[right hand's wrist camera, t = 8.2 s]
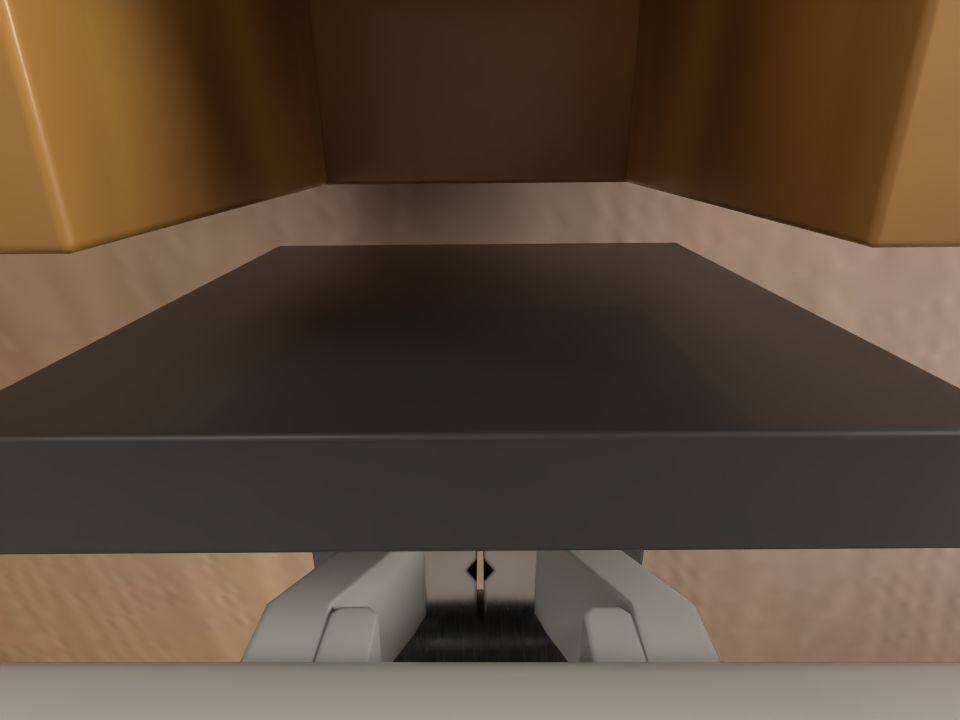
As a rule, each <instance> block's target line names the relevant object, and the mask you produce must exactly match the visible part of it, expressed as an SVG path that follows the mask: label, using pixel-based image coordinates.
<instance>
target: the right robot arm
mask: <svg viewBox="0 0 960 720" xmlns="http://www.w3.org/2000/svg"><path fill="white" fill-rule="evenodd" d="M483 555H484V610H527V611H534V613H535V615H536V616H537V618H538V619H539V621H540V623H541V624H542V626H543V628H544V630H545V632H546V633H547V635H548V636H549V637H550V639H551V640H552V641H553V642H554V644H555V645H556V646H557V648H558V649H559V650H560V652H561V653H562V654H563V655H564V657H565V658H566V659H567V661H568V662H393V661H394V659H395V658H396V657H397V655H398V654H399V653H400V652H401V650H402V649H403V648H404V646H405V645H406V644H407V643H408V641H409V640H410V639H411V637H412V636H413V635H414V633H415V632H416V631H417V629H418V627H419V626H420V624H421V622H422V621H423V619H424V617H425V616H426V611H458V610H476V604H477V551H408V552H336V553H335V554H334V555H332V556H331V557H330V558H328V559H327V560H326V561H324V562H323V563H322V564H320V565H319V566H318V567H316V568H315V569H314V570H312V571H311V572H310V573H308V574H307V575H306V576H304V577H303V578H302V579H300V580H299V581H298V582H296V583H295V584H294V585H292V586H291V587H290V588H288V589H287V590H286V591H284V592H283V593H282V594H280V595H279V596H278V597H276V598H275V599H274V600H272V601H271V602H270V603H268V604H267V606H266V608H265V610H264V612H263V614H262V616H261V618H260V621H259V623H258V625H257V627H256V629H255V631H254V633H253V636H252V638H251V640H250V642H249V644H248V646H247V649H246V651H245V653H244V655H243V657H242V659H241V661H240V662H0V720H960V662H720V660H719V657H718V655H717V653H716V651H715V649H714V647H713V644H712V642H711V640H710V638H709V636H708V633H707V631H706V629H705V627H704V625H703V623H702V620H701V618H700V616H699V614H698V612H697V610H696V607H695V605H694V604H692V603H691V602H690V601H688V600H687V599H686V598H684V597H683V596H682V595H680V594H679V593H678V592H676V591H675V590H674V589H672V588H671V587H670V586H668V585H667V584H666V583H664V582H663V581H662V580H660V579H659V578H658V577H656V576H655V575H654V574H652V573H651V572H650V571H648V570H647V569H646V568H644V567H643V566H642V565H640V564H639V563H638V562H636V561H635V560H634V559H632V558H631V557H630V556H628V555H627V554H626V553H624V552H623V551H622V550H557V551H483Z"/></svg>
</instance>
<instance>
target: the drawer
mask: <svg viewBox="0 0 960 720" xmlns="http://www.w3.org/2000/svg"><path fill="white" fill-rule="evenodd" d="M556 182H630V183H633V184H637V185H641V186H645V187H648V188H652V189H656V190H660V191H663V192H667V193H671V194H675V195H678V196H682V197H686V198H690V199H693V200H697V201H701V202H705V203H708V204H712V205H716V206H720V207H723V208H727V209H731V210H734V211H738V212H742V213H746V214H749V215H753V216H757V217H761V218H764V219H768V220H772V221H776V222H779V223H783V224H787V225H791V226H794V227H798V228H802V229H806V230H809V231H813V232H817V233H820V234H824V235H828V236H832V237H835V238H839V239H843V240H847V241H850V242H854V243H858V244H862V245H865V246H869V247H960V0H0V254H70V253H73V252H77V251H81V250H85V249H88V248H92V247H96V246H99V245H103V244H107V243H110V242H114V241H118V240H121V239H125V238H129V237H133V236H136V235H140V234H144V233H147V232H151V231H155V230H158V229H162V228H166V227H170V226H173V225H177V224H181V223H184V222H188V221H192V220H195V219H199V218H203V217H206V216H210V215H214V214H218V213H221V212H225V211H229V210H232V209H236V208H240V207H243V206H247V205H251V204H254V203H258V202H262V201H266V200H269V199H273V198H277V197H280V196H284V195H288V194H291V193H295V192H299V191H302V190H306V189H310V188H314V187H317V186H321V185H325V184H440V183H556ZM855 548H960V388H958V387H956V386H954V385H952V384H950V383H948V382H946V381H944V380H942V379H940V378H938V377H936V376H934V375H932V374H930V373H928V372H926V371H924V370H923V369H921V368H919V367H917V366H915V365H913V364H911V363H909V362H907V361H905V360H903V359H901V358H899V357H897V356H895V355H893V354H891V353H889V352H887V351H886V350H884V349H882V348H880V347H878V346H876V345H874V344H872V343H870V342H868V341H866V340H864V339H862V338H860V337H858V336H856V335H854V334H852V333H850V332H848V331H847V330H845V329H843V328H841V327H839V326H837V325H835V324H833V323H831V322H829V321H827V320H825V319H823V318H821V317H819V316H817V315H815V314H813V313H811V312H809V311H808V310H806V309H804V308H802V307H800V306H798V305H796V304H794V303H792V302H790V301H788V300H786V299H784V298H782V297H780V296H778V295H776V294H774V293H772V292H771V291H769V290H767V289H765V288H763V287H761V286H759V285H757V284H755V283H753V282H751V281H749V280H747V279H745V278H743V277H741V276H739V275H737V274H735V273H733V272H732V271H730V270H728V269H726V268H724V267H722V266H720V265H718V264H716V263H714V262H712V261H710V260H708V259H706V258H704V257H702V256H700V255H698V254H696V253H694V252H693V251H691V250H689V249H687V248H685V247H683V246H681V245H679V244H677V243H593V244H473V245H353V246H279V247H277V248H275V249H273V250H271V251H269V252H267V253H265V254H263V255H261V256H260V257H258V258H256V259H254V260H252V261H250V262H248V263H246V264H244V265H242V266H240V267H238V268H236V269H234V270H232V271H231V272H229V273H227V274H225V275H223V276H221V277H219V278H217V279H215V280H213V281H211V282H209V283H207V284H205V285H203V286H202V287H200V288H198V289H196V290H194V291H192V292H190V293H188V294H186V295H184V296H182V297H180V298H178V299H176V300H175V301H173V302H171V303H169V304H167V305H165V306H163V307H161V308H159V309H157V310H155V311H153V312H151V313H149V314H147V315H146V316H144V317H142V318H140V319H138V320H136V321H134V322H132V323H130V324H128V325H126V326H124V327H122V328H120V329H118V330H117V331H115V332H113V333H111V334H109V335H107V336H105V337H103V338H101V339H99V340H97V341H95V342H93V343H91V344H89V345H88V346H86V347H84V348H82V349H80V350H78V351H76V352H74V353H72V354H70V355H68V356H66V357H64V358H62V359H60V360H59V361H57V362H55V363H53V364H51V365H49V366H47V367H45V368H43V369H41V370H39V371H37V372H35V373H33V374H31V375H30V376H28V377H26V378H24V379H22V380H20V381H18V382H16V383H14V384H12V385H10V386H8V387H6V388H4V389H2V390H1V391H0V554H110V553H259V552H313V559H314V566H315V568H316V567H318V566H319V565H320V564H322V563H323V562H324V561H326V560H327V559H328V558H330V557H331V556H332V555H334V554H335V553H336V552H408V551H557V550H622V551H623V552H624V553H626V554H627V555H628V556H630V557H631V558H632V559H634V560H635V561H636V562H638V563H639V564H640V565H642V560H643V552H644V550H706V549H855ZM393 662H568V661H567V659H566V658H565V657H564V655H563V654H562V653H561V652H560V650H559V649H558V648H557V646H556V645H555V644H554V642H553V641H552V640H551V639H550V637H549V636H548V635H547V633H546V632H545V630H544V628H543V626H542V624H541V623H540V621H539V619H538V618H537V616H536V615H535V613H534V611H527V610H484V589H477V604H476V610H458V611H426V616H425V617H424V619H423V621H422V622H421V624H420V626H419V627H418V629H417V631H416V632H415V633H414V635H413V636H412V637H411V639H410V640H409V641H408V643H407V644H406V645H405V646H404V648H403V649H402V650H401V652H400V653H399V654H398V655H397V657H396V658H395V659H394V661H393Z"/></svg>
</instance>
